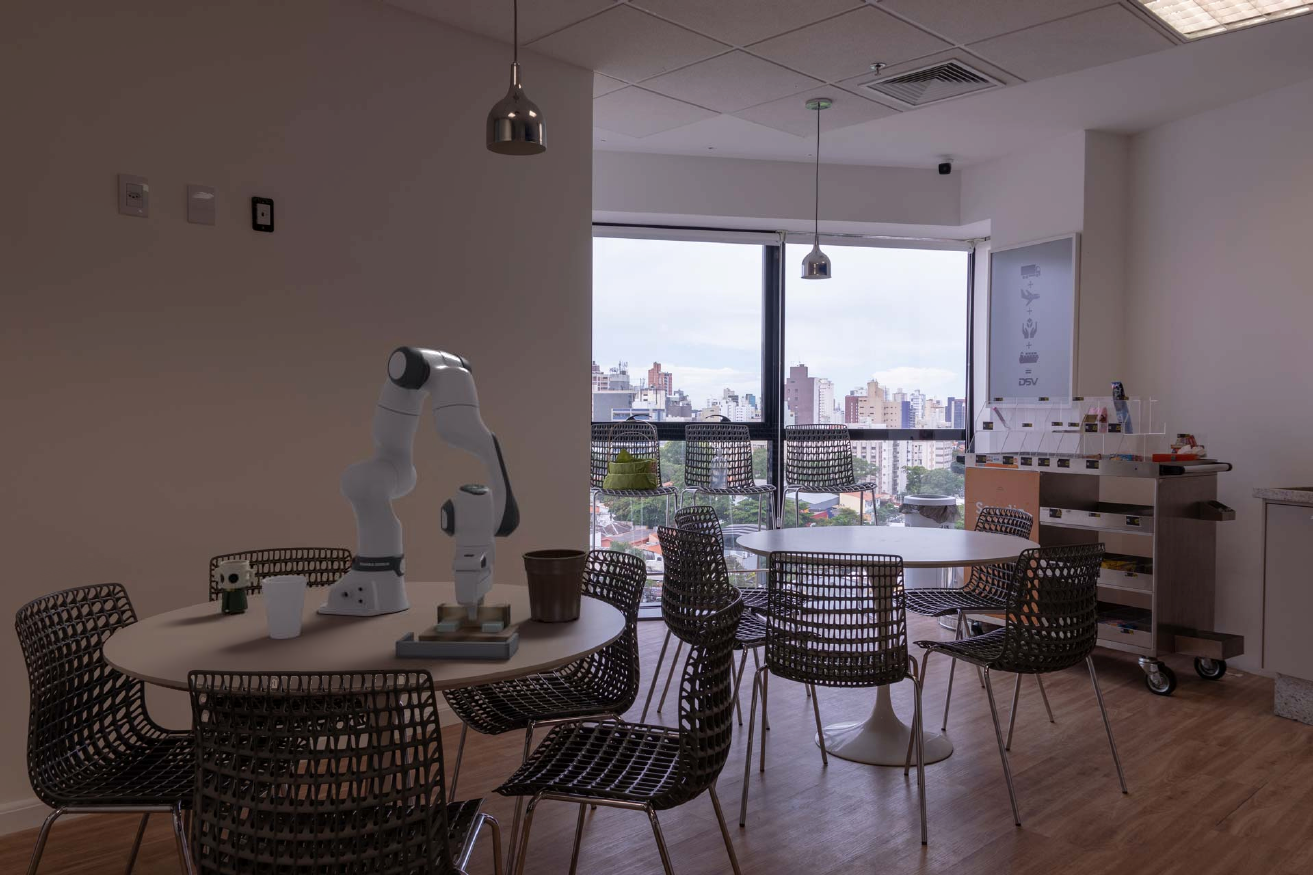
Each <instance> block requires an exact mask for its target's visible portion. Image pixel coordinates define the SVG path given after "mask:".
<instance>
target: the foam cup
mask: <svg viewBox="0 0 1313 875" xmlns="http://www.w3.org/2000/svg"><path fill="white" fill-rule="evenodd" d="M307 587H308V585H307V576H304V575H279V576H278V575H277V576H271V577H267V578H263V579H262V580H261V591H262V593H263V599H264V605H265V612H266V613H265V614H266V619H267V625H268V631H269V632H268V633H269V637H270V638H271V639H276V640H281V639H283V640H284V639H293V638H296V637H299V636H300V634H301V628H302V620H303V613H304V606H305V605H304V604H305V596H306V589H307Z"/></svg>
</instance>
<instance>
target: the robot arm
mask: <svg viewBox="0 0 1313 875" xmlns="http://www.w3.org/2000/svg"><path fill="white" fill-rule="evenodd" d="M387 373H388V376H387V377H386V380H385V382H384V384H383V386H382V389H381V392H380V394H379V398H378V401H377V404H376V407H375V410H374V411H375V412H374V415H373V420H372V423H371V426H370V436H371V438H372V439H373V443H374V455H373V458H372V459H365V460H360V461H357V462H355V463H353V464H351V465H348V466H347V467H346V468H345V469H344V470H343V471H342V472H341V474H340V477H339V480H338V481H339V489H340V492H341V494H342V496H343V497H344V498H345V499H346V500H347V501H348V502H349V503H350V506H351V509H352V510H353V515H354V518H355V522H356V527H357V528H356V529H357V530H356V531H357V554H356V555H354V556H353V557H352V558H350V559H349V560H348V561H349V563H348V565H350V566H351V567H350V568H351V569H350V570H349V571H348V572H346V573H345V574H344V575H343V576H342V577H340V578H339V579H338V580H337V581H335V582H334V583H333V584H331V586H330V588H329V591H328V595H327V602H325V603H323V604H321V605H320V606H319V607H318V613H319V614H325V615H326V614H327V615H343V616H344V615H345V616H346V615H347V616H357V617H358V616H360V617H362V616H363V617H372V616H377V615H382V614H389V613H395V612H400V611H404V610H406V609H409V608H410V603H409V601H408V600H409V599H408V596H407V592H406V587H405V577H404V575H405V570H406V567H405V566H406V561H405V554H404V552H403V525H402V522H401V521H400V520H399V518H397V515H396V513H395V511H394V507H393V503H392V500H395V499H399V498H402V497H403V496H405V495H407V494H409V493H410V492H412V491H413V490H414V488H415V487H416V484H417V481H418V474H417V470H416V468H415V466H414V464H413V448H414V441H415V436H416V434H417V429H418V425H419V422H420V421H419V420H420V417H421V413H422V410H423V406H424V402H425V399H426V398H427V396H429V395H430V396H431V400H432V416H433V424H434V429H435V432H436V433H435V434H436V435H437V436H438V437H439V439H440V440H441V441H442V442H444V444H446V445H447V446H449V447H451V448H453V449H455V450H458V451H462V452H465V453H467V454H470V455H472V456H474V457H476V458H478V459H479V460H480V461H481V462H482V463H483V465H484V467H485V470H486V474H487V479H488V483H489V485H490V487H488V486H486V485H484V484H465V485H462V486H460V487H459V488H457V492H456V496H455V497H453V498H449V499H447V500H446V501H445V502H444V503H443V505H442V506H441V507H440V529H441V530H442V532H444V534H446V535H448V536H449V537H450V538H455V539H456V540H455V552H454V557H453V560H452V562H451V569H452V571H455V572H454V588H455V589H454V590H455V598H456V604H458V605H467V609H468V612H469V620H476V619H477V618H478V611H477V604H485V599H486V598H485V597H486V594H487V593H489V592H490V591H491V590H492V589H493V586H494V572H493V570H494V569H493V565H495V564H496V541H495V540H496V539H495V538H508V537H509V536H511V534H513V533H514V532H515V531H516V530H517V528H518V527H519V525H520V520H521V519H520V518H521V516H520V509H519V506H518V503H517V500H516V497H515V495H514V493H513V489H512V486H511V483H510V478H509V476H508V471H507V467H506V463H505V460H504V456H503V453H502V449H501V446H500V444H499V441H498V437H497V436H496V434H495V432H494V431H492V430H490V429H489V428H488V427H487V426H486V425H485V423H484V421H483V418H482V415H481V413H480V412H481V411H480V402H479V397H478V391H477V388H476V384H475V380H474V376H473V369H472V367H471V364H470V362H469V361H468V360H467V359H466V358H464V357H462V356H460V355H459V354H455V353H449V352H446V351H443V350H439V349H435V348H423V347H417V346H414V345H405V346H400V347H399V346H398V348H395V350H393V351H392V353H391V355H390V357H389V359H388V361H387Z"/></svg>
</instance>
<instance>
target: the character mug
mask: <svg viewBox="0 0 1313 875" xmlns="http://www.w3.org/2000/svg"><path fill="white" fill-rule="evenodd" d="M213 575H214V577H213V579H214V581H215V582H218V585H219V587H220V588H222V589H224V591H223V593H222V598H221V611H220V612H221V613H224V614H225V613H227V611H228V613H229V614H234V613H242V612H244V611H246V610H248V609H249V605H248V598H247V591H246V589H245V587H247V586H249V584H250V583H254V582H255V569H252V568H250V561H249V560H245V559H233V560H232V559H231V560H224V561H220V562H219V563H218V567H217V568H215V569H214V570H213Z"/></svg>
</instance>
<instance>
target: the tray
mask: <svg viewBox="0 0 1313 875" xmlns="http://www.w3.org/2000/svg"><path fill="white" fill-rule="evenodd" d="M517 649H518V650H519V637H518V633H514V634H513V635H512V636H511V637H510V638H509V639H508V640H507V642H425V641H419V640H417V641H416V640H415V632H414V631H409V632H407V633H406V634H404V636H402V637H401V638H399V639H398V640H397V641H395V658H396V659H429V660H431V659H440V660H441V659H443V660H445V659H447V660H448V659H449V660H508V661H509V660H511V659H512V657H513V656H514V655H515V654H516V652H517V651H518V650H517Z"/></svg>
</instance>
